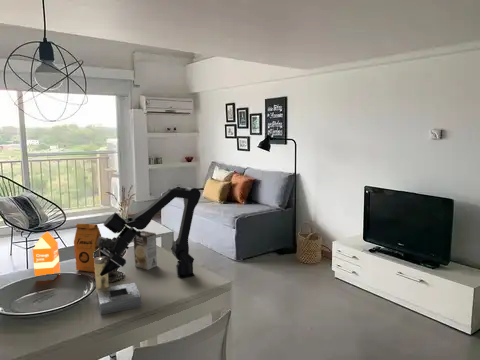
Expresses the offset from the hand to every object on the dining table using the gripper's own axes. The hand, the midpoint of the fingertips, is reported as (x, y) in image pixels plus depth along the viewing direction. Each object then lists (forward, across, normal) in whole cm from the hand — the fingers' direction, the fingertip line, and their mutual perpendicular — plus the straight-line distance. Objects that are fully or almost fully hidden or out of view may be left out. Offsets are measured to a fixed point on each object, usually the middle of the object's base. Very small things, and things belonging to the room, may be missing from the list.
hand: (97, 272), depth 151 cm
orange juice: (+16, -31, -3) cm, 35 cm away
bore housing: (+4, +14, +9) cm, 17 cm away
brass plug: (+5, 0, +7) cm, 9 cm away
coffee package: (+3, -29, +9) cm, 31 cm away
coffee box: (-12, -17, +25) cm, 33 cm away
